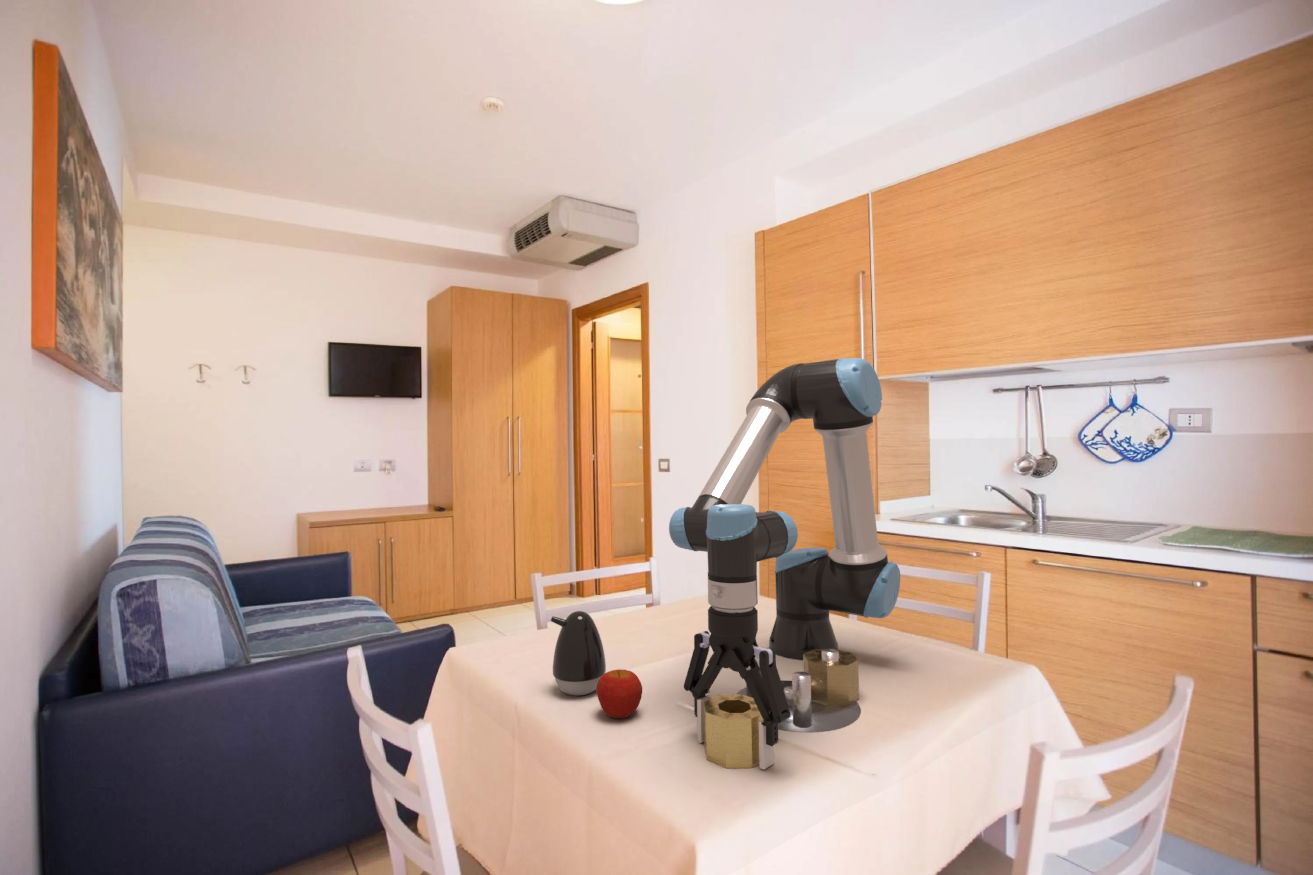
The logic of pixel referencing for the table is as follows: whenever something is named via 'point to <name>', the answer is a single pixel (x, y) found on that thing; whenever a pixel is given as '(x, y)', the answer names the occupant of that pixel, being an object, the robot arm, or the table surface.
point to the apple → (619, 693)
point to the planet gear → (732, 731)
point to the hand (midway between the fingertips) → (734, 751)
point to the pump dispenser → (578, 654)
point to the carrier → (812, 704)
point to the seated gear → (832, 678)
